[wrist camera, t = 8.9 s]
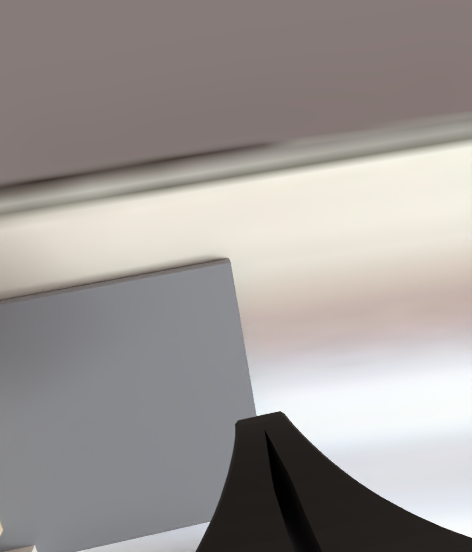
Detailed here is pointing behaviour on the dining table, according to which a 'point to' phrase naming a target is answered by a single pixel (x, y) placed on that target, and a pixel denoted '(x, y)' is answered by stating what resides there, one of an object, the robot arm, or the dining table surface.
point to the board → (119, 407)
